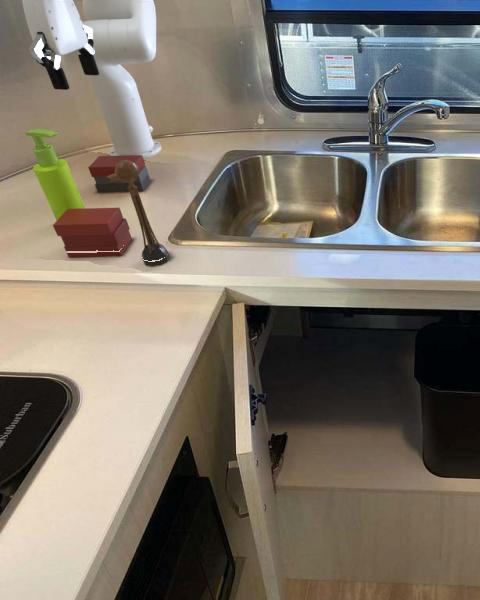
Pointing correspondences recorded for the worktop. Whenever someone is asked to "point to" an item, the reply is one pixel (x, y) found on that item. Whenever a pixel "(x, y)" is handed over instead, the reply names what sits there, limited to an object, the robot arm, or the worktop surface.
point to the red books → (93, 231)
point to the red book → (112, 164)
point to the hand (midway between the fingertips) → (77, 81)
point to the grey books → (119, 186)
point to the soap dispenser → (54, 175)
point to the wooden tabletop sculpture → (140, 214)
